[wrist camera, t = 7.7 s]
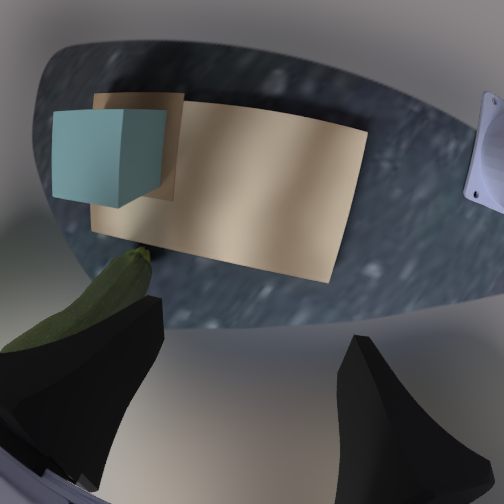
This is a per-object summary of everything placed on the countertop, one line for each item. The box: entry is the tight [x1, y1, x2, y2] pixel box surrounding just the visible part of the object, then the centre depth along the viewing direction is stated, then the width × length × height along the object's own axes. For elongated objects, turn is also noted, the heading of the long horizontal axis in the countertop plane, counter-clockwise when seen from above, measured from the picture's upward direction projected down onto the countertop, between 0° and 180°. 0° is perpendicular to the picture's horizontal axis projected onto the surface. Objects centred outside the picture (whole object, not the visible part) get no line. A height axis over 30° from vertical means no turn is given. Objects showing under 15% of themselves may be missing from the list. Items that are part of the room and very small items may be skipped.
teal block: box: [52, 109, 167, 209], centre depth 15 cm, size 5×5×5 cm
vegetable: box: [0, 247, 152, 353], centre depth 14 cm, size 4×4×20 cm
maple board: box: [90, 92, 368, 283], centre depth 18 cm, size 18×10×1 cm, turn 81°
